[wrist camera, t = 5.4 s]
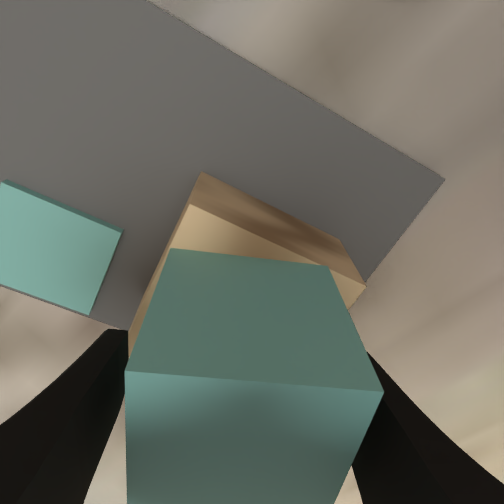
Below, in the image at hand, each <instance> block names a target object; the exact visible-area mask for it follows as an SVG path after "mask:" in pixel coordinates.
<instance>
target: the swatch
mask: <svg viewBox="0 0 504 504" xmlns="http://www.w3.org/2000/svg"><path fill="white" fill-rule="evenodd" d="M123 230H124V229H122V228H119V227H117V226H115V225H112V224H110V223H108V222H105V221H103V220H101V219H98V218H96V217H94V216H91V215H89V214H87V213H84V212H82V211H80V210H77V209H75V208H73V207H70V206H68V205H66V204H63V203H61V202H58V201H56V200H54V199H51V198H49V197H47V196H44V195H42V194H40V193H37V192H35V191H33V190H30V189H28V188H26V187H23V186H21V185H19V184H16V183H14V182H12V181H9V180H7V179H6V180H4V181H2V182H1V184H0V284H3V285H5V286H8V287H11V288H14V289H17V290H19V291H22V292H25V293H28V294H31V295H33V296H36V297H39V298H42V299H45V300H47V301H50V302H53V303H56V304H59V305H61V306H64V307H67V308H70V309H72V310H75V311H78V312H81V313H84V314H86V315H89V314H90V312H91V311H92V308H93V306H94V303H95V301H96V298H97V296H98V293H99V291H100V288H101V286H102V283H103V280H104V278H105V275H106V273H107V270H108V268H109V265H110V263H111V260H112V258H113V255H114V253H115V250H116V248H117V245H118V243H119V240H120V238H121V235H122V233H123Z"/></svg>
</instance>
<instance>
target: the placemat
mask: <svg viewBox="0 0 504 504" xmlns="http://www.w3.org/2000/svg"><path fill="white" fill-rule="evenodd" d="M201 171H202V172H204V173H206V174H208V175H210V176H212V177H214V178H216V179H218V180H220V181H222V182H224V183H226V184H228V185H230V186H232V187H234V188H236V189H239V190H241V191H243V192H245V193H247V194H249V195H251V196H253V197H255V198H257V199H259V200H261V201H263V202H265V203H267V204H269V205H271V206H273V207H275V208H277V209H279V210H281V211H283V212H285V213H287V214H289V215H291V216H293V217H295V218H297V219H299V220H301V221H303V222H305V223H307V224H309V225H311V226H313V227H315V228H317V229H319V230H321V231H323V232H325V233H327V234H329V235H332V236H334V237H336V238H338V239H339V240H340V241H341V243H342V245H343V246H344V248H345V250H346V252H347V253H348V255H349V257H350V258H351V260H352V262H353V264H354V265H355V267H356V269H357V271H358V272H359V274H360V276H361V277H362V279H363V281H364V283H365V282H366V281H367V279H368V278H369V277H370V275H371V274H372V273H373V272H374V270H375V269H376V268H377V266H378V265H379V264H380V263H381V261H382V260H383V259H384V257H385V256H386V255H387V254H388V252H389V251H390V250H391V248H392V247H393V246H394V245H395V243H396V242H397V241H398V240H399V238H400V237H401V236H402V234H403V233H404V232H405V231H406V229H407V228H408V227H409V225H410V224H411V223H412V222H413V220H414V219H415V218H416V216H417V215H418V214H419V213H420V211H421V210H422V209H423V207H424V206H425V205H426V204H427V202H428V201H429V200H430V198H431V197H432V196H433V195H434V193H435V192H436V191H437V190H438V188H439V187H440V186H441V184H442V183H443V182H444V181H445V179H444V178H443V177H441V176H439V175H438V174H436V173H434V172H433V171H431V170H429V169H428V168H426V167H424V166H423V165H421V164H419V163H418V162H416V161H414V160H413V159H411V158H409V157H408V156H406V155H404V154H402V153H401V152H399V151H397V150H396V149H394V148H392V147H391V146H389V145H387V144H386V143H384V142H382V141H381V140H379V139H377V138H376V137H374V136H372V135H371V134H369V133H367V132H366V131H364V130H362V129H361V128H359V127H357V126H356V125H354V124H352V123H351V122H349V121H347V120H345V119H344V118H342V117H340V116H339V115H337V114H335V113H334V112H332V111H330V110H329V109H327V108H325V107H324V106H322V105H320V104H319V103H317V102H315V101H314V100H312V99H310V98H309V97H307V96H305V95H304V94H302V93H300V92H299V91H297V90H295V89H294V88H292V87H290V86H288V85H287V84H285V83H283V82H282V81H280V80H278V79H277V78H275V77H273V76H272V75H270V74H268V73H267V72H265V71H263V70H262V69H260V68H258V67H257V66H255V65H253V64H252V63H250V62H248V61H247V60H245V59H243V58H242V57H240V56H238V55H237V54H235V53H233V52H231V51H230V50H228V49H226V48H225V47H223V46H221V45H220V44H218V43H216V42H215V41H213V40H211V39H210V38H208V37H206V36H205V35H203V34H201V33H200V32H198V31H196V30H195V29H193V28H191V27H190V26H188V25H186V24H185V23H183V22H181V21H179V20H178V19H176V18H174V17H173V16H171V15H169V14H168V13H166V12H164V11H163V10H161V9H159V8H158V7H156V6H154V5H153V4H151V3H149V2H148V1H146V0H0V184H1V182H2V181H4V180H6V179H7V180H9V181H12V182H14V183H16V184H19V185H21V186H23V187H26V188H28V189H30V190H33V191H35V192H37V193H40V194H42V195H44V196H47V197H49V198H51V199H54V200H56V201H58V202H61V203H63V204H66V205H68V206H70V207H73V208H75V209H77V210H80V211H82V212H84V213H87V214H89V215H91V216H94V217H96V218H98V219H101V220H103V221H105V222H108V223H110V224H112V225H115V226H117V227H119V228H122V229H124V230H123V233H122V235H121V238H120V240H119V243H118V245H117V248H116V250H115V253H114V255H113V258H112V260H111V263H110V265H109V268H108V270H107V273H106V275H105V278H104V280H103V283H102V286H101V288H100V291H99V293H98V296H97V298H96V301H95V303H94V306H93V308H92V311H91V312H90V314H89V315H86V314H84V313H81V312H78V311H75V310H72V309H70V308H67V307H64V306H61V305H59V304H56V303H53V302H50V301H47V300H45V299H42V298H39V297H36V296H33V295H31V294H28V293H25V292H22V291H19V290H17V289H14V288H11V287H8V286H5V285H3V284H0V286H2V287H5V288H7V289H10V290H13V291H16V292H19V293H21V294H24V295H27V296H30V297H33V298H35V299H38V300H41V301H44V302H47V303H49V304H52V305H55V306H58V307H61V308H64V309H66V310H69V311H72V312H75V313H78V314H80V315H83V316H86V317H89V318H92V319H94V320H97V321H100V322H103V323H106V324H108V325H111V326H114V327H117V328H120V329H122V330H128V332H129V329H130V327H131V324H132V322H133V319H134V317H135V315H136V312H137V310H138V307H139V305H140V302H141V300H142V298H143V295H144V293H145V291H146V289H147V287H148V285H149V282H150V280H151V278H152V276H153V274H154V272H155V269H156V267H157V265H158V263H159V261H160V259H161V257H162V254H163V252H164V250H165V248H166V246H167V244H168V241H169V239H170V237H171V235H172V233H173V231H174V229H175V226H176V224H177V222H178V220H179V218H180V216H181V214H182V211H183V209H184V207H185V205H186V203H187V201H188V198H189V196H190V194H191V192H192V190H193V188H194V186H195V183H196V181H197V179H198V177H199V175H200V173H201Z"/></svg>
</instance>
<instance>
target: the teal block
mask: <svg viewBox="0 0 504 504" xmlns="http://www.w3.org/2000/svg"><path fill="white" fill-rule="evenodd" d="M383 394H384V390H383V388H382V386H381V384H380V381H379V379H378V377H377V375H376V372H375V370H374V368H373V366H372V363H371V361H370V359H369V357H368V355H367V352H366V350H365V348H364V346H363V343H362V341H361V339H360V337H359V334H358V332H357V330H356V328H355V325H354V323H353V321H352V319H351V317H350V314H349V312H348V310H347V308H346V305H345V303H344V301H343V299H342V296H341V294H340V292H339V290H338V287H337V285H336V283H335V281H334V279H333V276H332V274H331V272H330V270H329V267H328V266H324V265H316V264H307V263H298V262H290V261H281V260H273V259H264V258H255V257H247V256H238V255H229V254H221V253H212V252H203V251H195V250H186V249H177V248H170V250H169V253H168V256H167V258H166V261H165V264H164V266H163V269H162V272H161V274H160V277H159V280H158V283H157V285H156V288H155V291H154V293H153V296H152V299H151V301H150V304H149V307H148V309H147V312H146V315H145V317H144V320H143V323H142V325H141V328H140V331H139V333H138V336H137V339H136V342H135V344H134V347H133V350H132V352H131V355H130V358H129V360H128V363H127V366H126V368H125V421H126V474H127V504H334V502H335V500H336V498H337V496H338V494H339V491H340V489H341V487H342V485H343V482H344V480H345V478H346V476H347V474H348V471H349V469H350V467H351V465H352V463H353V460H354V458H355V456H356V454H357V451H358V449H359V447H360V445H361V443H362V440H363V438H364V436H365V434H366V431H367V429H368V427H369V425H370V423H371V420H372V418H373V416H374V414H375V411H376V409H377V407H378V405H379V403H380V400H381V398H382V396H383Z"/></svg>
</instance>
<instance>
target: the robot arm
mask: <svg viewBox="0 0 504 504" xmlns="http://www.w3.org/2000/svg"><path fill="white" fill-rule="evenodd" d="M367 355H368V357H369V359H370V361H371V363H372V366H373V368H374V370H375V372H376V375H377V377H378V379H379V381H380V384H381V386H382V388H383V390H384V394H383V396H382V398H381V400H380V403H379V405H378V407H377V409H376V411H375V414H374V416H373V418H372V420H371V423H370V425H369V427H368V429H367V431H366V434H365V436H364V438H363V440H362V443H361V445H360V447H359V449H358V451H357V454H356V456H355V458H354V460H353V463H352V468H353V472H354V475H355V478H356V481H357V485H358V488H359V491H360V495H361V498H362V502H363V504H504V484H503V483H502V482H500V481H499V480H498V479H496V478H495V477H494V476H493V475H491V474H490V473H489V472H488V471H486V470H485V469H484V468H483V467H482V466H480V465H479V464H478V463H477V462H476V461H475V460H473V459H472V458H471V457H470V456H469V455H468V454H467V453H465V452H464V451H463V450H462V449H461V448H460V447H458V446H457V445H456V444H455V443H454V442H453V441H452V440H451V439H450V438H449V437H448V436H447V435H445V434H444V433H443V432H442V431H441V430H440V429H439V428H438V427H437V426H436V425H435V424H434V423H433V422H432V421H431V420H430V419H429V418H428V417H427V416H426V415H425V414H424V413H423V412H422V411H421V410H420V409H419V408H418V407H417V406H416V405H415V404H414V402H413V401H412V400H411V399H410V398H409V397H408V396H407V395H406V394H405V393H404V392H403V391H402V390H401V388H400V387H399V386H398V385H397V384H396V383H395V382H394V381H393V380H392V378H391V377H390V376H389V375H388V374H387V373H386V372H385V371H384V370H383V368H382V367H381V366H380V365H379V364H378V363H377V362H376V361H375V360H374V358H373V357H372V356H371V355H370V354H369V353H368V352H367ZM128 360H129V349H128V330H117V329H107V330H106V331H104V333H103V334H102V335H101V336H100V337H99V338H98V339H97V340H96V341H95V342H94V343H93V344H92V345H91V346H90V347H89V348H88V349H87V350H86V351H85V352H84V353H83V354H82V355H81V356H80V357H79V358H78V359H77V360H76V361H75V362H74V363H73V364H72V365H71V366H70V367H69V368H67V369H66V370H65V371H64V372H63V373H62V374H61V375H60V376H59V377H58V378H57V379H56V380H55V381H53V382H52V383H51V384H50V385H49V386H48V387H47V388H45V389H44V390H43V391H42V392H41V393H40V394H38V395H37V396H36V397H35V398H34V399H33V400H31V401H30V402H29V403H28V404H27V405H25V406H24V407H23V408H22V409H20V410H19V411H18V412H17V413H15V414H14V415H13V416H11V417H10V418H9V419H8V420H6V421H5V422H4V423H2V424H1V425H0V504H83V503H84V500H85V497H86V495H87V492H88V489H89V486H90V484H91V481H92V479H93V476H94V474H95V471H96V469H97V466H98V464H99V461H100V459H101V456H102V454H103V451H104V449H105V446H106V444H107V441H108V439H109V436H110V434H111V431H112V429H113V426H114V424H115V421H116V419H117V416H118V414H119V411H120V408H121V405H122V401H123V398H124V394H125V368H126V366H127V363H128Z"/></svg>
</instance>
